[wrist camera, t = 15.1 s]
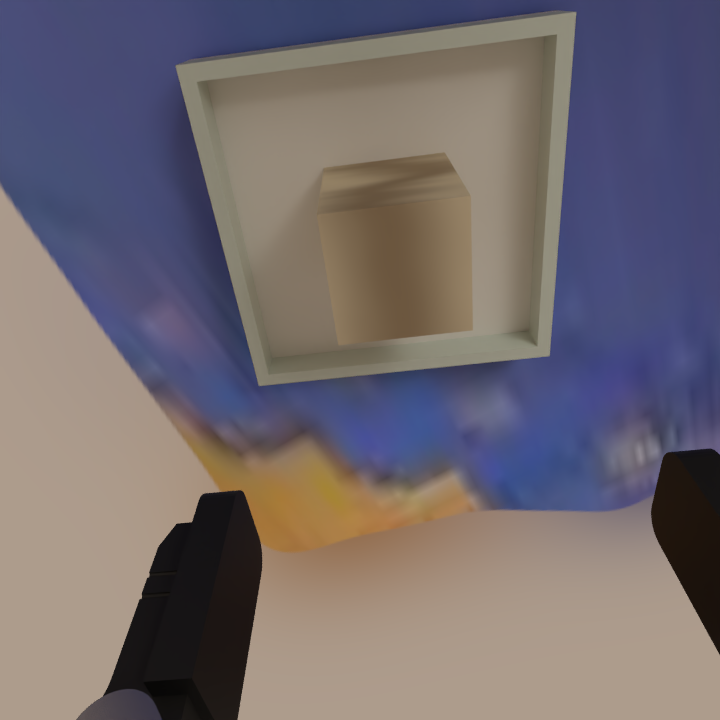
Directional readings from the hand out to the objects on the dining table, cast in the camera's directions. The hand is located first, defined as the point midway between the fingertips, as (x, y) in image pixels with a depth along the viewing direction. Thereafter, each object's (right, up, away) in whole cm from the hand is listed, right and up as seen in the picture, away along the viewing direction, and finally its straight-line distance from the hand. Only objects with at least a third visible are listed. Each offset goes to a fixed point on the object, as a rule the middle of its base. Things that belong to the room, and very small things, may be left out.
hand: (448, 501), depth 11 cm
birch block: (0, +9, +14) cm, 16 cm away
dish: (0, +9, +14) cm, 17 cm away
